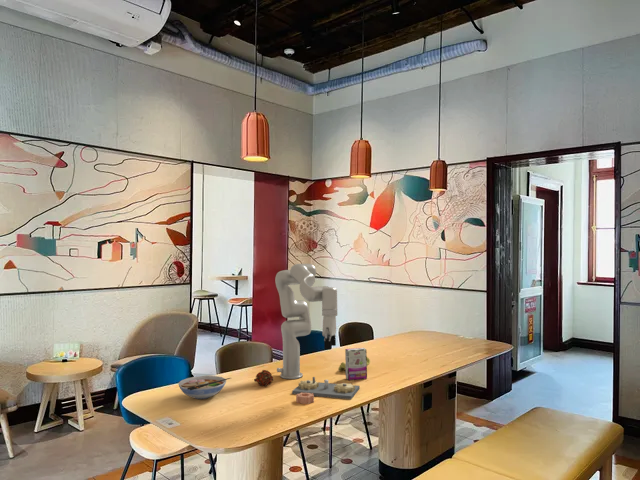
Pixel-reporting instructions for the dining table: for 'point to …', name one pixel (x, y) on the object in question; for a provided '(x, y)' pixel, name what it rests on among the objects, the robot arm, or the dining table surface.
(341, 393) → the gear board
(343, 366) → the plastic component
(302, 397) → the idler gear
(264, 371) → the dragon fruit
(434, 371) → the dining table surface
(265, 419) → the dining table surface
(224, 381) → the ramen bowl
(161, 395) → the dining table surface
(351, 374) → the candy bar box
